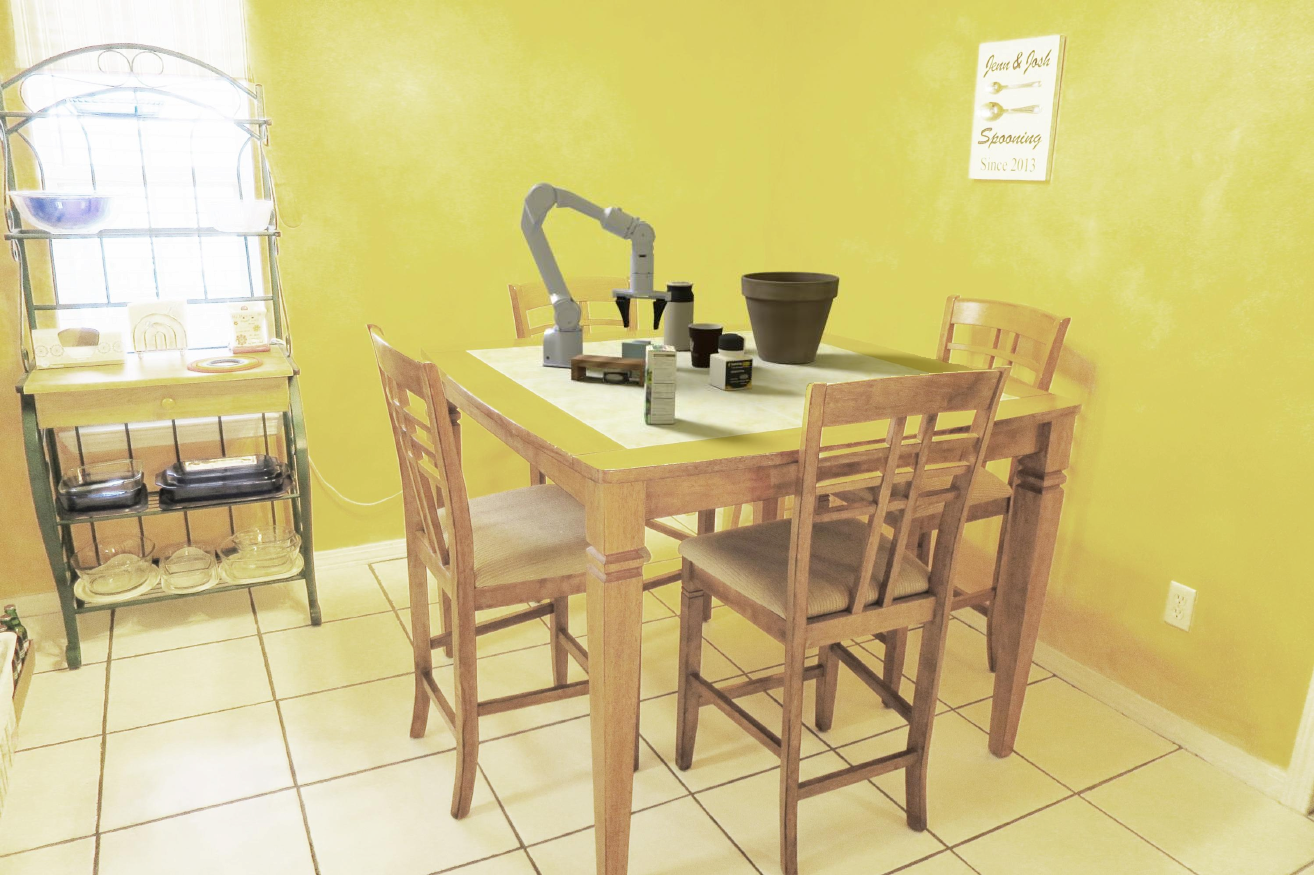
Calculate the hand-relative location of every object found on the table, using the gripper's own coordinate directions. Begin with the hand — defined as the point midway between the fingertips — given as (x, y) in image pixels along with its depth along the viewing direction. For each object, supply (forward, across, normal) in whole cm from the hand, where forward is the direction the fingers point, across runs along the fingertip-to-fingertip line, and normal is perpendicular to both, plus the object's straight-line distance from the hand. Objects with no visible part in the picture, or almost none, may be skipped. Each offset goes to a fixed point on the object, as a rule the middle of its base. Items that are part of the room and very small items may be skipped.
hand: (641, 328), depth 226 cm
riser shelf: (+9, +1, +19) cm, 21 cm away
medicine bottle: (+10, -26, +15) cm, 32 cm away
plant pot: (+10, -33, -22) cm, 41 cm away
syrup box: (+10, -19, +49) cm, 53 cm away
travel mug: (+10, -3, -25) cm, 27 cm away
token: (+10, 0, +19) cm, 21 cm away
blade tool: (+9, 0, +7) cm, 11 cm away
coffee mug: (+10, -15, -7) cm, 19 cm away
